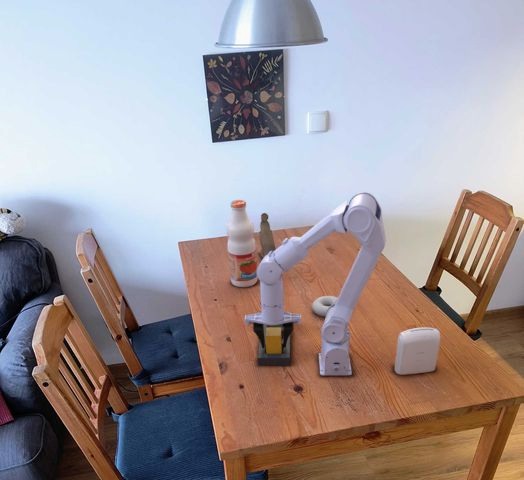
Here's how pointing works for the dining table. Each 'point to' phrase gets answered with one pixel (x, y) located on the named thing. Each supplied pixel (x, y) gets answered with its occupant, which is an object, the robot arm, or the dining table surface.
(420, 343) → the photo printer
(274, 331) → the mustard peg
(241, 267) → the fruit juice
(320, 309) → the donut
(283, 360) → the peg stand
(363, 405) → the dining table surface
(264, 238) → the worn brown figurine
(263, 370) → the dining table surface
